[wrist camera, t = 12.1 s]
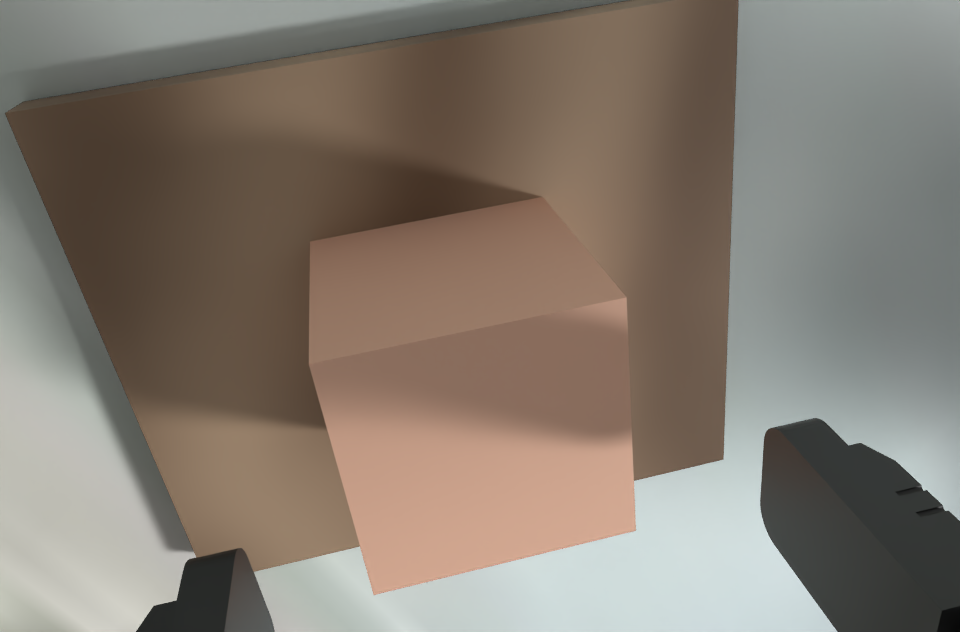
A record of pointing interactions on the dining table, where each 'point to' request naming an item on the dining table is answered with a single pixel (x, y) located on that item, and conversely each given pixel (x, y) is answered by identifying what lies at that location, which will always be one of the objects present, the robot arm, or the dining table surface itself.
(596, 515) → the terracotta cube
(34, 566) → the dining table surface
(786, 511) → the robot arm
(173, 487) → the walnut board
